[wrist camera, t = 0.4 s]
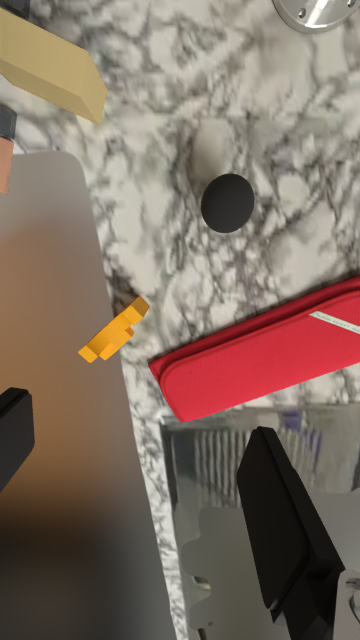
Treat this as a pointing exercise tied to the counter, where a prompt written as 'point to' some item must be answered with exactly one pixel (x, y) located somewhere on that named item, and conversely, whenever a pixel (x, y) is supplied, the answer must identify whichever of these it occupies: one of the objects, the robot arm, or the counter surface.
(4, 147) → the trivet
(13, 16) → the tan rectangular block
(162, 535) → the counter surface
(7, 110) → the grey u-shaped piece
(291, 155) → the counter surface
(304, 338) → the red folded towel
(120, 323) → the pipe clamp
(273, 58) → the counter surface
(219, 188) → the black rubber blower bulb
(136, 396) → the counter surface
